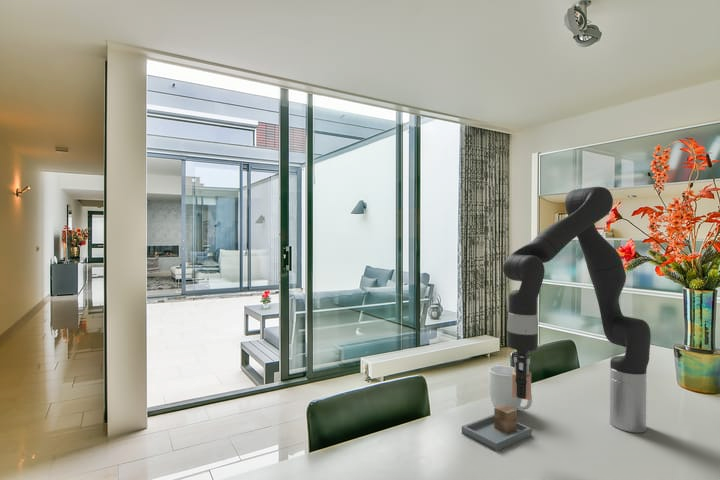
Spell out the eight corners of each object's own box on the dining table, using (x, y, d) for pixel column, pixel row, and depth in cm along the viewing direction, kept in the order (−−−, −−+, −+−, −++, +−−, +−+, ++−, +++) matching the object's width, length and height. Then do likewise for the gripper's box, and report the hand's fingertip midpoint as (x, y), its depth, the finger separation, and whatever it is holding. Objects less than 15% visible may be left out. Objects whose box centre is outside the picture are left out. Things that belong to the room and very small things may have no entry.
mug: (541, 416, 129) (541, 375, 129) (520, 424, 123) (520, 382, 123) (502, 400, 142) (502, 363, 142) (481, 407, 136) (481, 368, 136)
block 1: (494, 427, 120) (494, 407, 120) (503, 424, 122) (503, 404, 122) (507, 434, 116) (507, 413, 116) (516, 430, 119) (516, 409, 119)
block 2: (513, 391, 110) (513, 369, 110) (531, 394, 108) (531, 371, 108) (512, 397, 106) (512, 374, 106) (530, 400, 104) (530, 376, 104)
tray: (496, 419, 127) (496, 413, 127) (531, 435, 117) (531, 428, 117) (461, 433, 118) (461, 426, 118) (496, 451, 108) (496, 443, 108)
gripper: (537, 337, 99) (536, 407, 99) (537, 326, 112) (537, 388, 112) (505, 334, 102) (504, 401, 102) (509, 323, 115) (508, 383, 115)
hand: (521, 394), depth 107 cm, fingers closed on block 2, 4 cm apart
